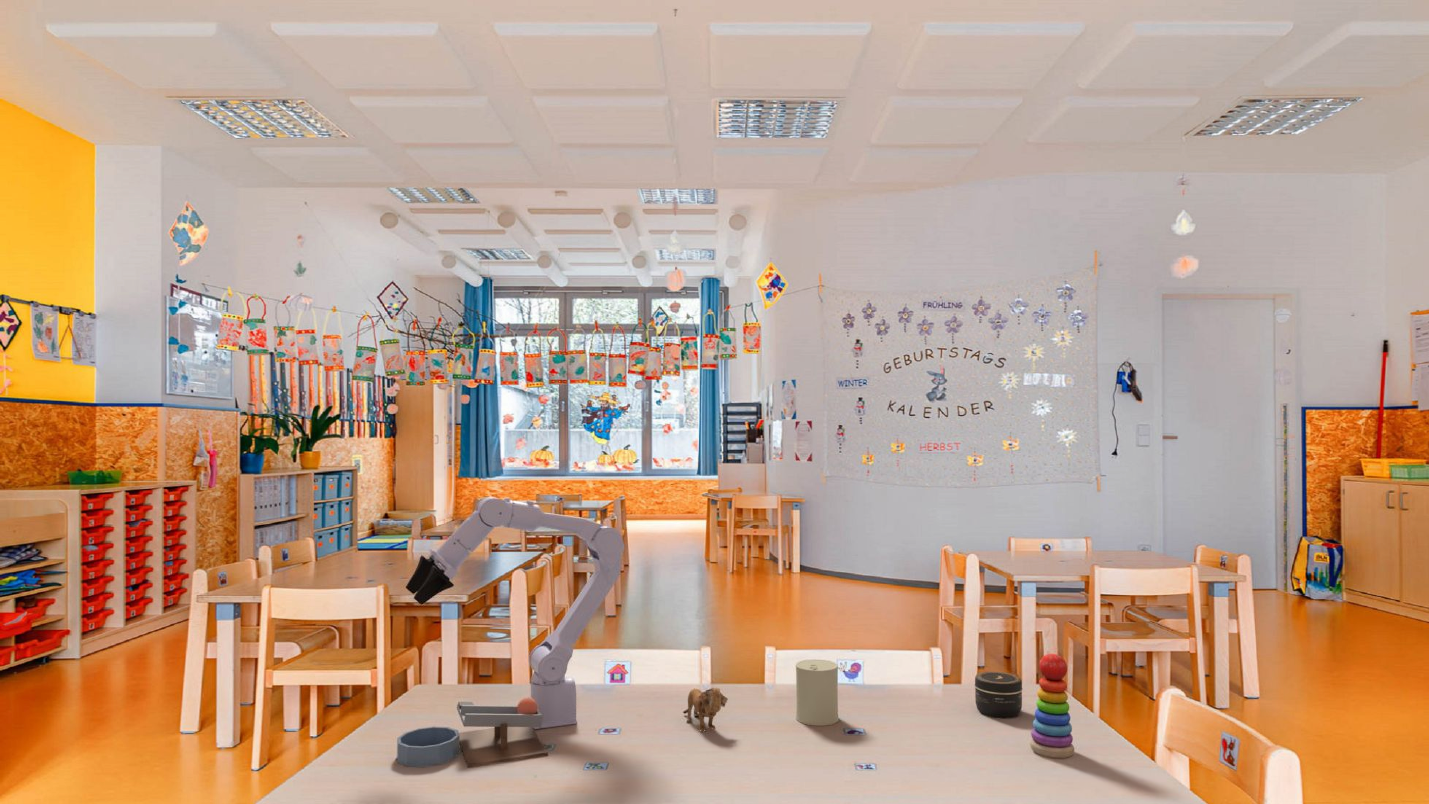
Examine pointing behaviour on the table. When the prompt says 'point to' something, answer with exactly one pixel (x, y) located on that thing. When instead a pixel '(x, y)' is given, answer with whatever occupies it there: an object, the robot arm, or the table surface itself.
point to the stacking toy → (1052, 711)
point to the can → (817, 692)
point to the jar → (998, 694)
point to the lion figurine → (705, 705)
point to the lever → (496, 716)
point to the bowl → (427, 746)
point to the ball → (527, 706)
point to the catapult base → (500, 745)
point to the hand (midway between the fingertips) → (413, 596)
